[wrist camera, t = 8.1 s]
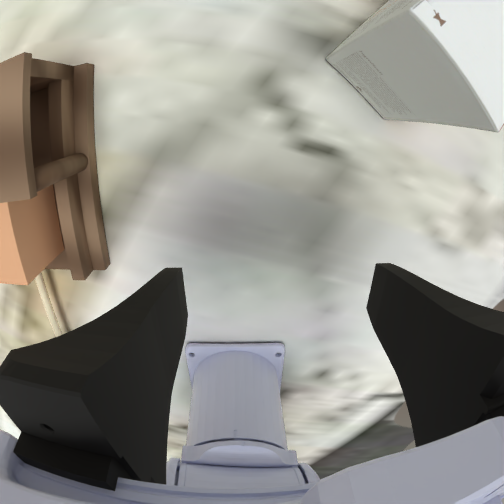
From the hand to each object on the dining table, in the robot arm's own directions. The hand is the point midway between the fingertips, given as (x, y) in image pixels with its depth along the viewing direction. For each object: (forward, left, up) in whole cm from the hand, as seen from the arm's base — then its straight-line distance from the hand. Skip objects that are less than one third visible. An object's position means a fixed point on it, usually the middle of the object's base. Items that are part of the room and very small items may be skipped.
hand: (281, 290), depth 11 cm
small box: (+11, -8, -10) cm, 17 cm away
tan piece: (-5, +17, -8) cm, 19 cm away
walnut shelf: (+3, +17, -9) cm, 20 cm away
